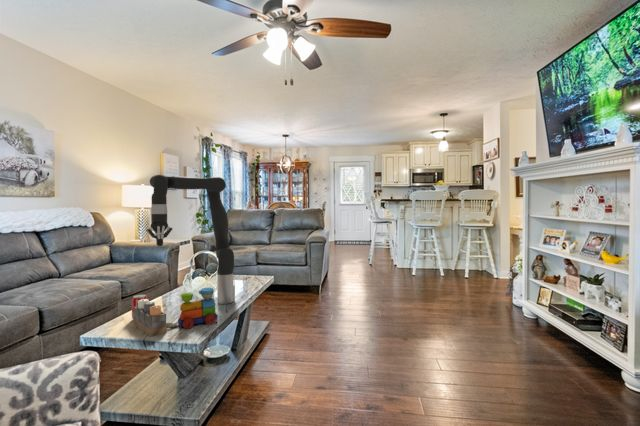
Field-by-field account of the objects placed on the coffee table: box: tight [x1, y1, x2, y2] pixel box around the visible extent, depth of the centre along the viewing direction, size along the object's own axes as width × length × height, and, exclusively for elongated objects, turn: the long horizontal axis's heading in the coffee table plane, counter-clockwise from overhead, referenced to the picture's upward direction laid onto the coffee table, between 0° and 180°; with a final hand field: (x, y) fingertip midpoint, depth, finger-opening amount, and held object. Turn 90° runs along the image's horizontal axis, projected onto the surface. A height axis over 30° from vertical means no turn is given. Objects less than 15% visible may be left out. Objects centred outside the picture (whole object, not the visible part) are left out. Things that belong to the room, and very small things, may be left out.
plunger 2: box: [150, 304, 162, 317], centre depth 145 cm, size 5×5×7 cm
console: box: [133, 306, 168, 337], centre depth 150 cm, size 7×22×8 cm, turn 48°
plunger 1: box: [138, 298, 150, 309], centre depth 155 cm, size 5×5×7 cm
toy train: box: [166, 287, 218, 330], centre depth 154 cm, size 12×29×17 cm, turn 122°
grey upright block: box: [144, 301, 156, 313], centre depth 150 cm, size 5×5×7 cm
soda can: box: [131, 293, 148, 321], centre depth 162 cm, size 7×7×12 cm
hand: (159, 246), depth 166 cm, fingers closed
